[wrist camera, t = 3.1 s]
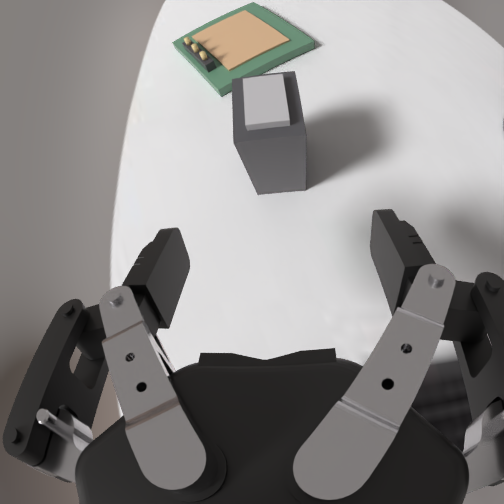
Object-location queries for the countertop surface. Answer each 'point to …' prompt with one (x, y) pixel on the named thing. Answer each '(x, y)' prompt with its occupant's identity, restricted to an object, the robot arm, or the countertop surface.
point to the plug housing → (270, 131)
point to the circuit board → (241, 45)
